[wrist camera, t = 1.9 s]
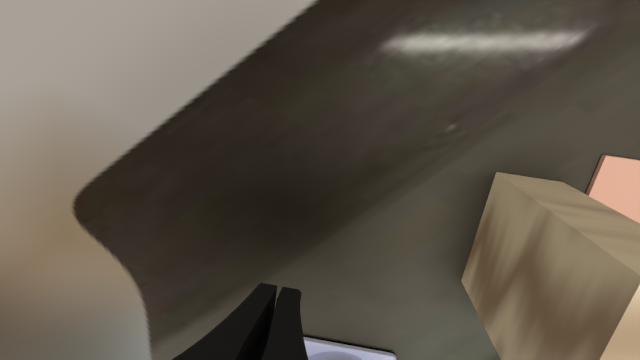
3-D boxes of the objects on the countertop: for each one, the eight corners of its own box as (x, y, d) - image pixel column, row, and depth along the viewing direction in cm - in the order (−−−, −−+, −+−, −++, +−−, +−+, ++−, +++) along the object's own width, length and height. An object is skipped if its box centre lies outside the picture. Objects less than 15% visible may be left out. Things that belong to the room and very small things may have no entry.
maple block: (519, 290, 23) (658, 476, 12) (461, 281, 23) (548, 455, 13) (562, 182, 20) (783, 300, 10) (496, 171, 20) (643, 277, 10)
